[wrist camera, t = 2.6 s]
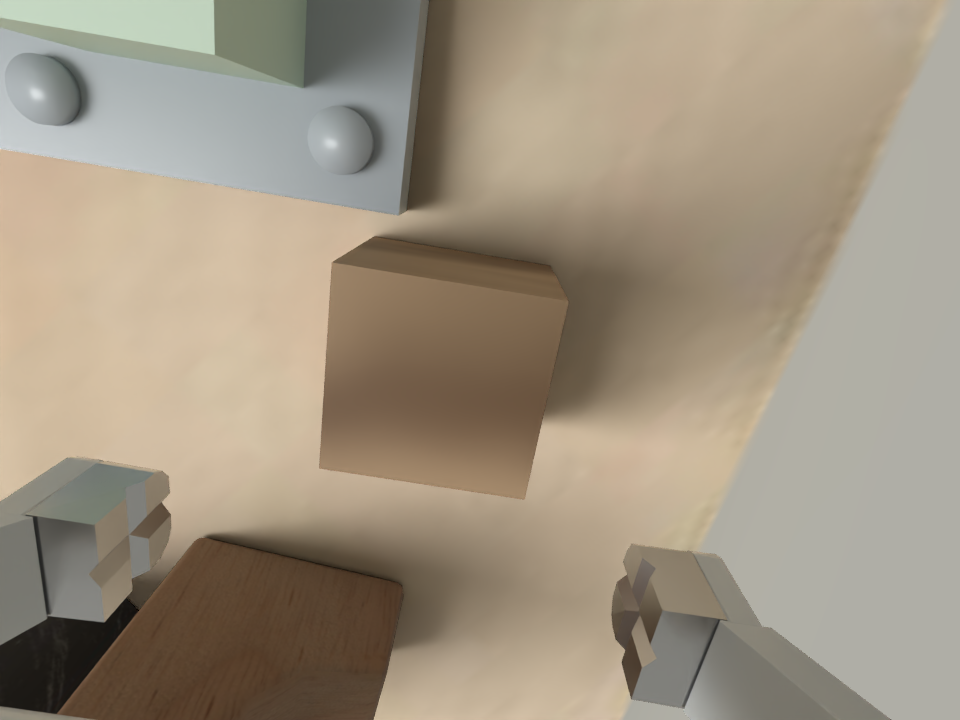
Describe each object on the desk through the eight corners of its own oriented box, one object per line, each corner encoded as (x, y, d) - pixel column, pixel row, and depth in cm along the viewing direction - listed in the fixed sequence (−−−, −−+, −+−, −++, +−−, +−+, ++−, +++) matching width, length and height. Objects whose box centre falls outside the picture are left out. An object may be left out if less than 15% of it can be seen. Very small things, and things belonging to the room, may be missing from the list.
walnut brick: (374, 236, 18) (331, 262, 13) (550, 265, 18) (568, 301, 13) (360, 396, 20) (319, 468, 15) (517, 421, 20) (524, 499, 15)
